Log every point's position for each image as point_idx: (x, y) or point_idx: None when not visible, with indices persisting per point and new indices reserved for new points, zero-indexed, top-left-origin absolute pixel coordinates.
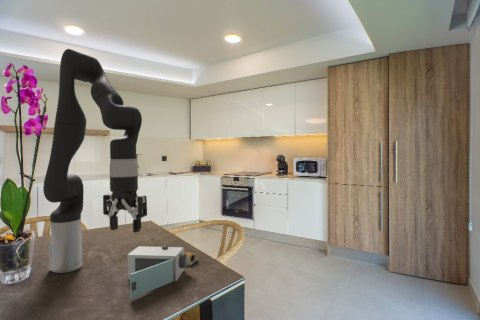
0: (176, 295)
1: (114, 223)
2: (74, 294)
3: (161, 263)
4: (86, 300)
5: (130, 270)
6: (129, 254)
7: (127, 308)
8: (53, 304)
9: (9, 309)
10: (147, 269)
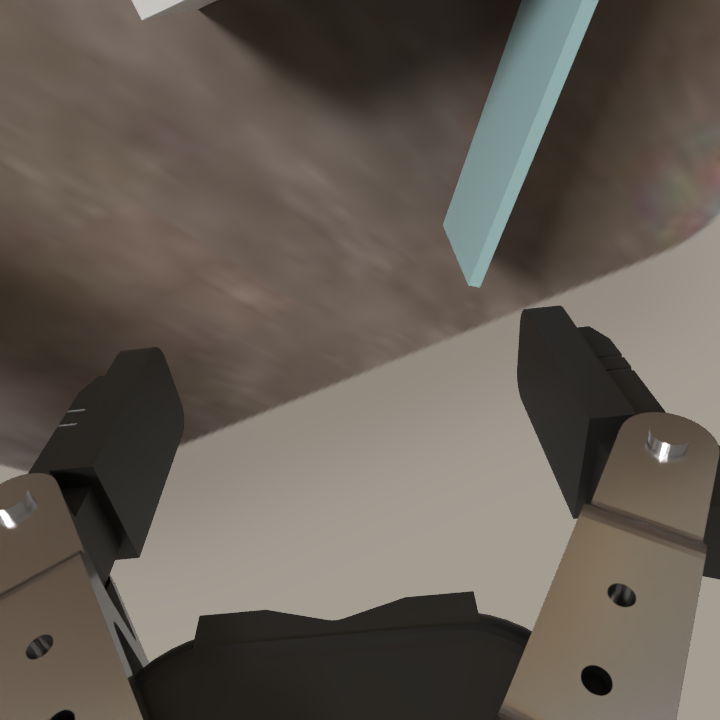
0: (672, 49)
1: (152, 449)
2: (118, 298)
3: (591, 10)
4: (234, 308)
5: (202, 2)
6: (153, 2)
7: None
8: None
9: None
10: (530, 160)
